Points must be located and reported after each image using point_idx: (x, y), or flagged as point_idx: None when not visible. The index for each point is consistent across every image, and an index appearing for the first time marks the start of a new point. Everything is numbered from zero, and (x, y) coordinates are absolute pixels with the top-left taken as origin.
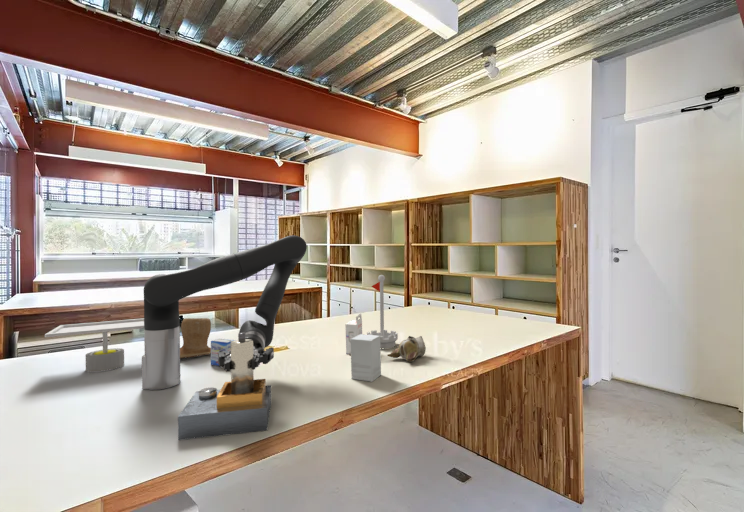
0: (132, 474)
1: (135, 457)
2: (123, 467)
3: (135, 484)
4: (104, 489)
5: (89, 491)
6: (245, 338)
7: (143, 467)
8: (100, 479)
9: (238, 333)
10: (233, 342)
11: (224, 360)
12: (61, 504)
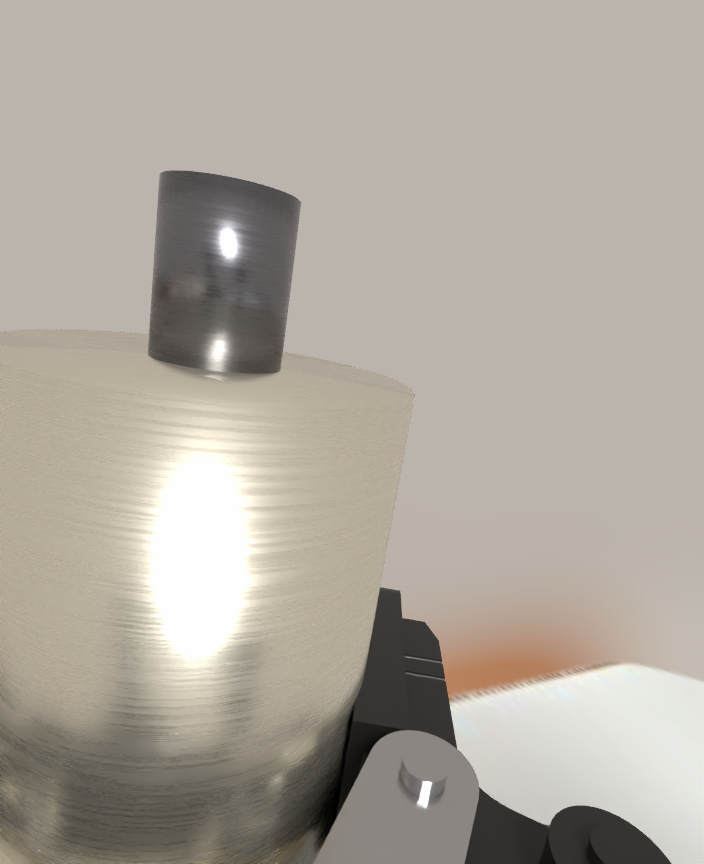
0: (592, 728)
1: (691, 844)
2: (669, 782)
3: (541, 681)
4: (617, 691)
5: (654, 697)
6: (158, 292)
7: (586, 754)
8: (682, 740)
9: (296, 201)
10: (363, 381)
11: (500, 825)
12: (675, 675)
